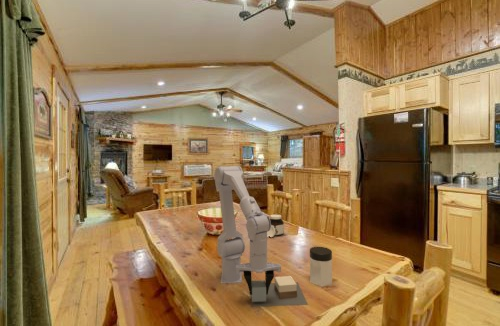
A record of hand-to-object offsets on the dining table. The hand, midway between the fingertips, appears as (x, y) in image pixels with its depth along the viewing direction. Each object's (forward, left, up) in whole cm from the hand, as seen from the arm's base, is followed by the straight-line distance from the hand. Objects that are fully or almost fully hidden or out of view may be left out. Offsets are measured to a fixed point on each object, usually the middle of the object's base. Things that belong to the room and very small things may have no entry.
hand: (258, 293), depth 81 cm
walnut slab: (-4, +10, -3) cm, 11 cm away
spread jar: (-68, +15, -3) cm, 70 cm away
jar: (-12, +25, -3) cm, 28 cm away
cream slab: (-4, +10, 0) cm, 10 cm away
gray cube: (0, 0, -2) cm, 2 cm away
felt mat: (-4, +7, -3) cm, 8 cm away
